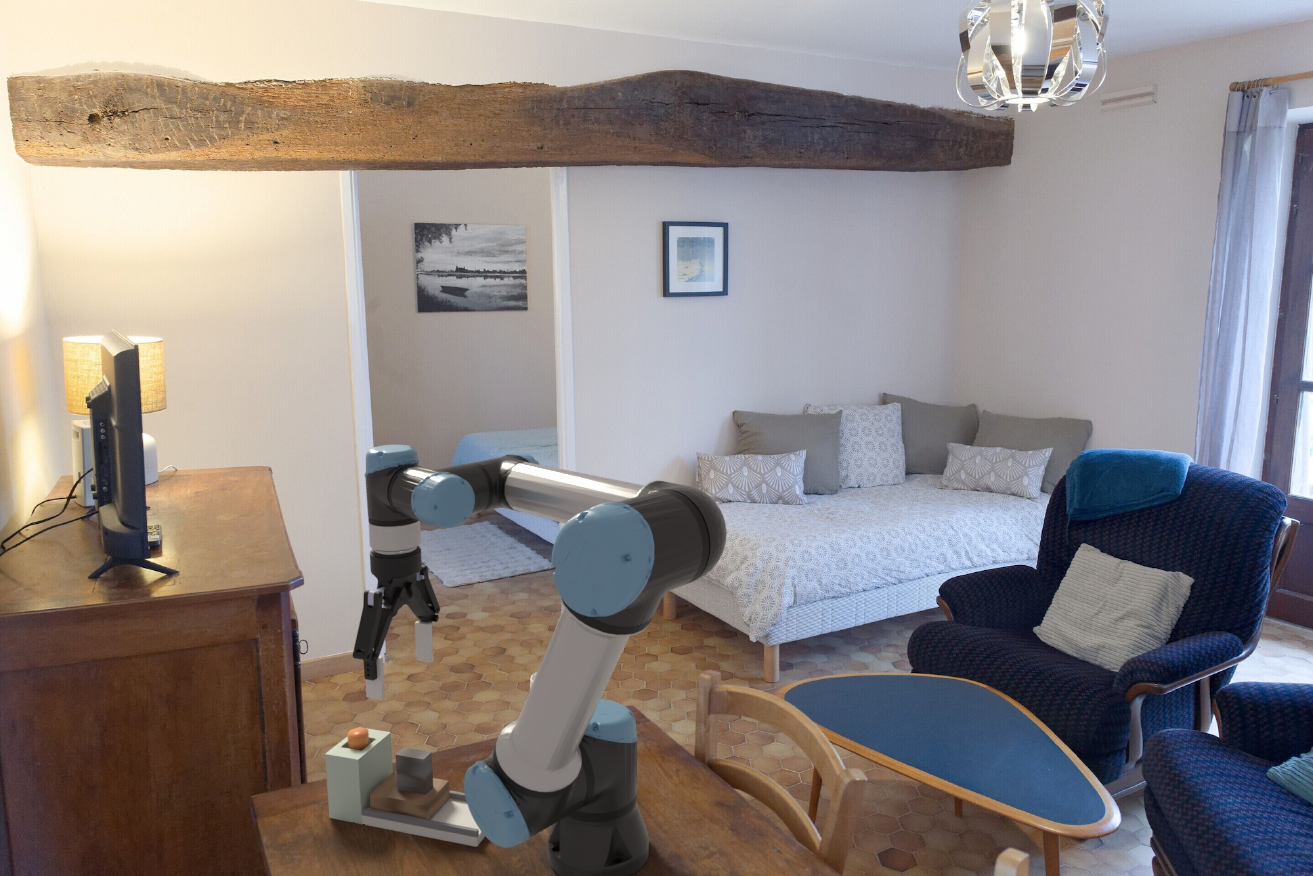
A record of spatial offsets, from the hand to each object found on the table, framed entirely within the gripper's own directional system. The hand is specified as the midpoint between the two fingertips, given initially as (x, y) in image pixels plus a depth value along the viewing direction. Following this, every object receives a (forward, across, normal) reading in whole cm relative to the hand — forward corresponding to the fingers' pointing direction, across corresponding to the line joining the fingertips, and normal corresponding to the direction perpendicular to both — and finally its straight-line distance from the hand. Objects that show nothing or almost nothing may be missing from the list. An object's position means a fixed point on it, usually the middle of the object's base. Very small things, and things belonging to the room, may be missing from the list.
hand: (401, 678), depth 143 cm
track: (+23, 0, +5) cm, 24 cm away
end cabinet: (+23, 0, -8) cm, 25 cm away
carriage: (+21, 0, +1) cm, 21 cm away
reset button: (+13, 0, -8) cm, 15 cm away
